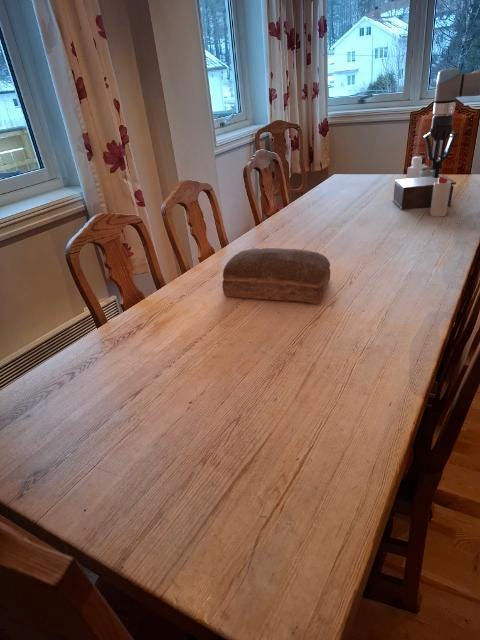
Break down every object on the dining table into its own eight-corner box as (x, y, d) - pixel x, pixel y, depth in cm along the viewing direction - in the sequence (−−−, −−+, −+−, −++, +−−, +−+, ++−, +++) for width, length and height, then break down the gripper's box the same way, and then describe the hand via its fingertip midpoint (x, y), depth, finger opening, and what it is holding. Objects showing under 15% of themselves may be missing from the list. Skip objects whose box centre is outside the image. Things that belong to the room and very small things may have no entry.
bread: (322, 306, 114) (322, 267, 108) (220, 297, 124) (215, 261, 118) (332, 279, 128) (333, 243, 122) (239, 273, 137) (236, 239, 132)
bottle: (442, 211, 172) (448, 175, 165) (448, 215, 167) (454, 179, 160) (427, 212, 173) (432, 176, 166) (432, 217, 168) (437, 180, 161)
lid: (443, 176, 184) (444, 174, 183) (456, 184, 172) (456, 182, 172) (394, 181, 186) (395, 179, 185) (403, 189, 174) (403, 187, 174)
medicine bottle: (412, 179, 219) (415, 154, 213) (426, 180, 214) (429, 155, 208) (405, 182, 215) (408, 157, 209) (419, 183, 210) (422, 158, 204)
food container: (415, 188, 204) (418, 166, 199) (429, 188, 202) (432, 166, 197) (419, 195, 193) (422, 172, 188) (434, 195, 192) (437, 172, 187)
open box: (438, 197, 188) (441, 178, 184) (450, 206, 177) (453, 186, 172) (393, 200, 190) (394, 181, 186) (401, 209, 178) (403, 189, 174)
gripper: (456, 112, 169) (448, 173, 181) (422, 115, 170) (416, 176, 182) (464, 113, 162) (454, 177, 174) (429, 117, 163) (421, 180, 175)
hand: (435, 177), depth 178 cm, fingers closed
